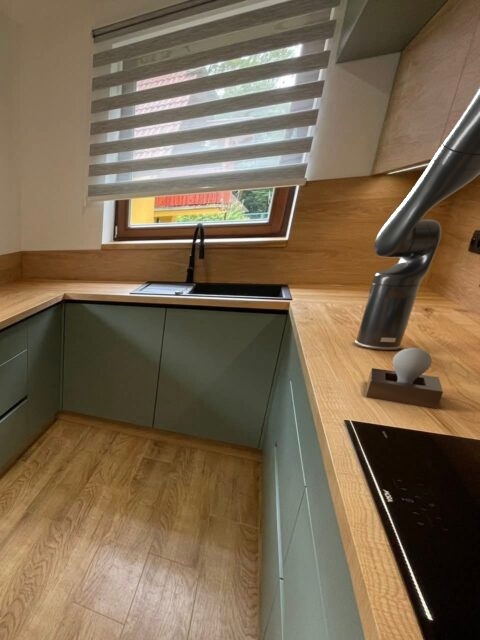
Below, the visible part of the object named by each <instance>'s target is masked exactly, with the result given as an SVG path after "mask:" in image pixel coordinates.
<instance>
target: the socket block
mask: <svg viewBox="0 0 480 640" xmlns="http://www.w3.org/2000/svg"><path fill="white" fill-rule="evenodd" d="M397 380H398V376H397V374H396V372H395V370H390V369H383V368H382V369H381V368H375V367H371V369H370V372H369V376H368V379H367V383H366V391H365V397H366V398H372V399H378V400H382V401H390V402H395V403H400V404H401V403H402V404H407V405H413V406H419V407H426V408H432V409H438V407H439V404H440V401H441V399H442V396H443V393H444V390H443V387H442V384H441V381H440V377H439V376H436V375H435V376H434V375H427V374H422V375H420V376H419V377H417V378H416V379H415V380H414V381H413V384H408V383H401V382H397Z"/></svg>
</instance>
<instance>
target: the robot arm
mask: <svg viewBox="0 0 480 640" xmlns="http://www.w3.org/2000/svg"><path fill="white" fill-rule="evenodd" d="M479 175H480V86H479V87H478V89H477V90H476V92H475V94H474V95H473V97H472V99H471V100H470V101H469V103H468V105H467V106H466V108H465V110H464V111H463V113H462V114H461V116H460V117H459V119H458V120H457V122H456V123H455V124H454V126H453V128H452V129H451V131H450V132H449V133H448V135H447V136H446V138H445V139H444V140H443V141H442V143H441V145H440V146H439V148H438V149H437V151H436V152H435V154H434V155H433V157H432V158H431V160H430V162H429V163H428V165H427V166H426V168H425V170H424V171H423V173H422V174H421V176H420V177H419V178H418V180H417V181H416V183H415V184H414V185H413V187H412V189H411V190H410V191H409V193H408V194H407V195H406V197H404V199H403V201H402V202H401V203H400V205H399V206H398V207H397V208H396V209H395V210H394V212H393V213H392V214H391V216H390V217H389V218H388V219H387V220H386V222H385V223H384V224H383V226H382V227H381V228H380V230H379V231H378V233H377V235H376V237H375V240H374V244H373V251H374V253H375V255H376V256H378V257H380V258H385V259H386V258H387V259H396V258H397V259H399V260H398V262H397V263H395V264H394V265H392V266H390V267H388V268H385V269H383V270H380V271H377V272H376V273H374V276H373V278H372V283H371V285H370V290H369V292H368V297H367V300H366V304H365V306H364V311H363V315H362V318H361V321H360V325H359V328H358V331H357V335H356V338H355V340H354V345H356V346H358V347H359V348H360V347H361V348H366V349H370V350H379V351H396V350H398V351H399V350H400V349H401V347H402V342H403V339H404V336H405V332H406V330H407V327H408V324H409V321H410V317H411V315H412V312H413V308H414V305H415V301H416V298H417V296H418V292H419V289H420V285H421V283H422V281H423V279H424V277H425V276H426V275H427V273H428V272H429V270H430V267H431V265H432V262H433V259H434V257H435V255H436V252H437V249H438V246H439V244H440V241H441V238H442V226H441V224H440V223H439V222H438V221H437V220H435V219H429V218H428V219H425V218H424V216H425V215H426V214H427V213H428V212H429V211H430V210H432V208H434V207H435V206H437V204H439V203H440V202H442V201H443V200H445V199H447V198H448V197H450V196H451V195H453V194H454V193H456V192H457V191H459V190H460V189H462V188H463V187H465V186H467V185H468V184H469V183H470V182H472V181H473V180H474V179H476V178H477V177H478V176H479ZM478 287H479V288H480V283H479V284H478Z"/></svg>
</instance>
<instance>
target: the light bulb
mask: <svg viewBox="0 0 480 640" xmlns="http://www.w3.org/2000/svg"><path fill="white" fill-rule="evenodd" d="M432 360H433V359H432V356H431V355H430V353H429V352H427V351H426V350H424V349H422V348H417V347H409V348H404V349H402V350H400V351H398V352H396V354H395V355H394V356H393V358H392V367H393V369H394V371H395V372H396V374H397V376H398V380H397V382H401V383H408V384H413V381H414V380H415V379H416V378H417V377H419V376H420V375H424V373H426V372H427V371H428V370H429V369H430V367H431V366H432V363H433V362H432Z"/></svg>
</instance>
